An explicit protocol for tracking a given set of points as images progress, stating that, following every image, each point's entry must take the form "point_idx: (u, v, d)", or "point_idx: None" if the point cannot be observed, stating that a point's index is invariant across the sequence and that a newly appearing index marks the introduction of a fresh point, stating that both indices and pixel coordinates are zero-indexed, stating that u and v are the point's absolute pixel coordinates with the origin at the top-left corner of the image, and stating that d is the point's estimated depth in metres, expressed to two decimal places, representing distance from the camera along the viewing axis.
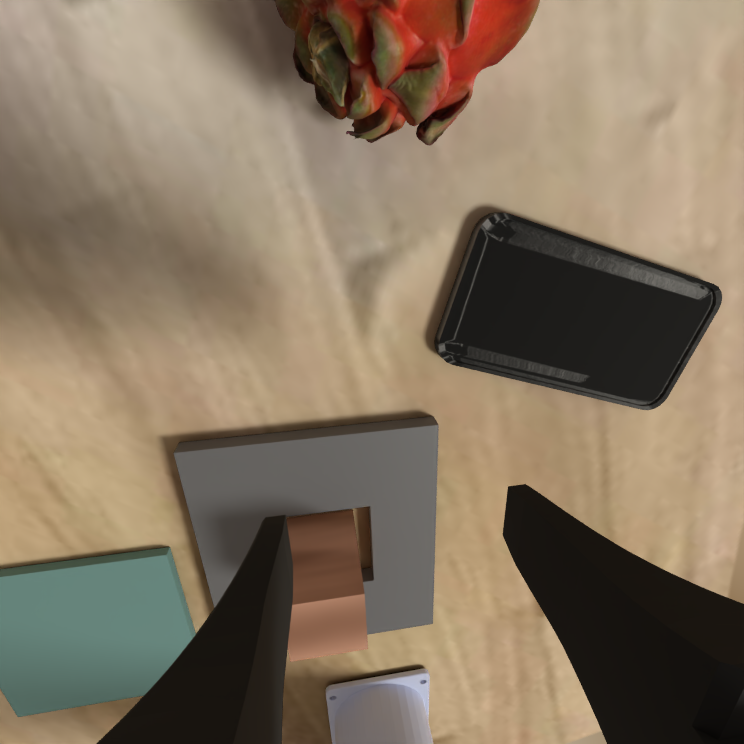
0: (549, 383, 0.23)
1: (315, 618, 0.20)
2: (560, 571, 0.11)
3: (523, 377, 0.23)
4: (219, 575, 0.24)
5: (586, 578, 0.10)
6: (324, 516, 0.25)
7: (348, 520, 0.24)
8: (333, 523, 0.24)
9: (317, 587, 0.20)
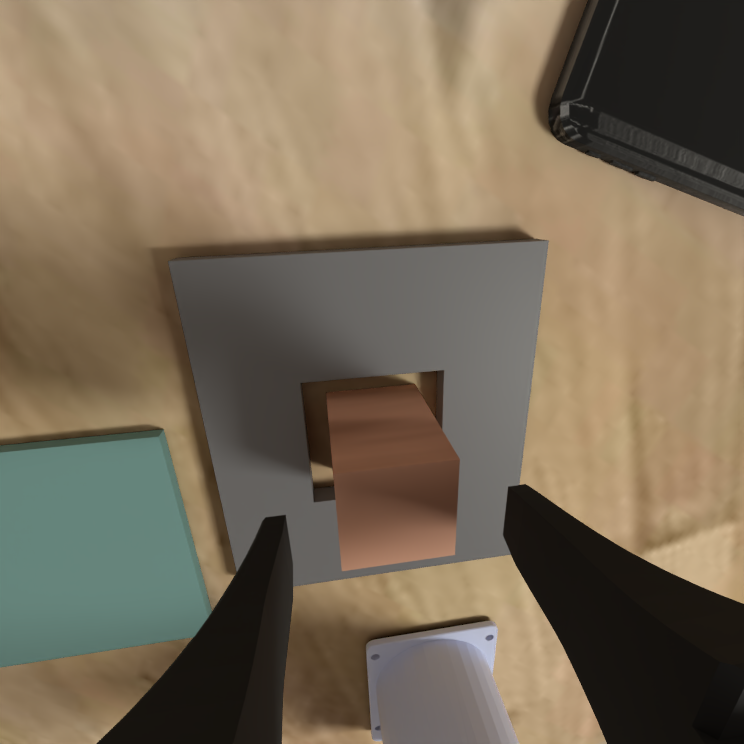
0: (703, 187, 0.16)
1: (384, 498, 0.13)
2: (560, 571, 0.11)
3: (670, 173, 0.16)
4: (232, 470, 0.18)
5: (586, 578, 0.10)
6: (377, 390, 0.18)
7: (412, 392, 0.18)
8: (392, 396, 0.17)
9: (385, 454, 0.13)
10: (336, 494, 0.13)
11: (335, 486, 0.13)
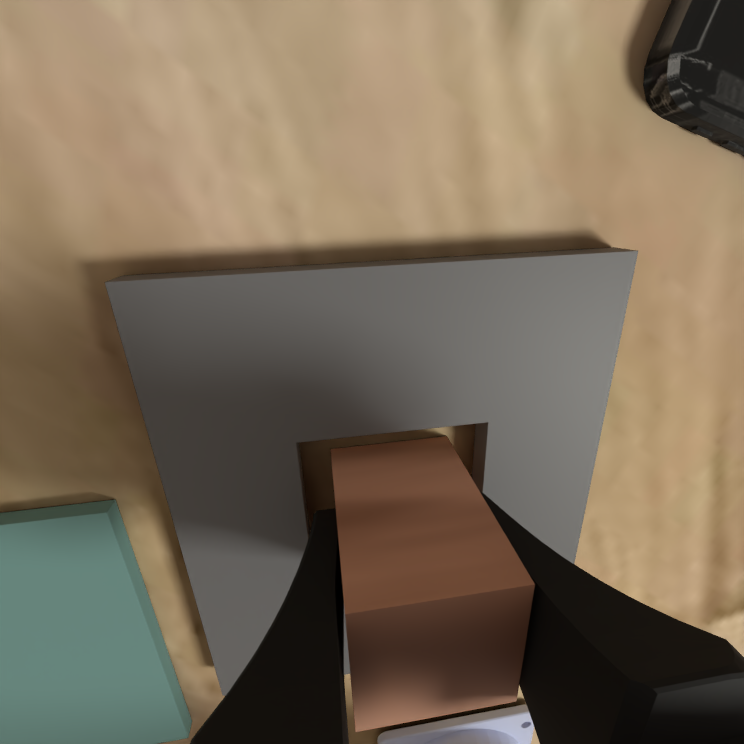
0: None
1: (420, 640, 0.09)
2: None
3: None
4: (206, 553, 0.13)
5: None
6: (398, 446, 0.14)
7: (445, 451, 0.13)
8: (419, 456, 0.13)
9: (420, 570, 0.09)
10: (349, 640, 0.08)
11: (348, 630, 0.08)
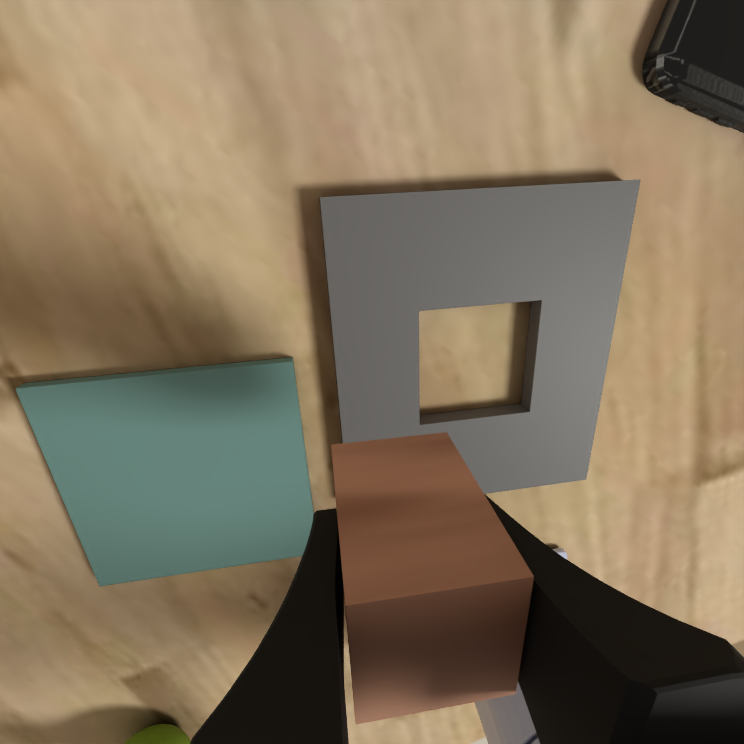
0: None
1: (419, 633, 0.09)
2: None
3: None
4: (353, 392, 0.20)
5: None
6: (399, 442, 0.14)
7: (445, 447, 0.13)
8: (419, 452, 0.13)
9: (420, 563, 0.09)
10: (349, 631, 0.08)
11: (348, 621, 0.08)
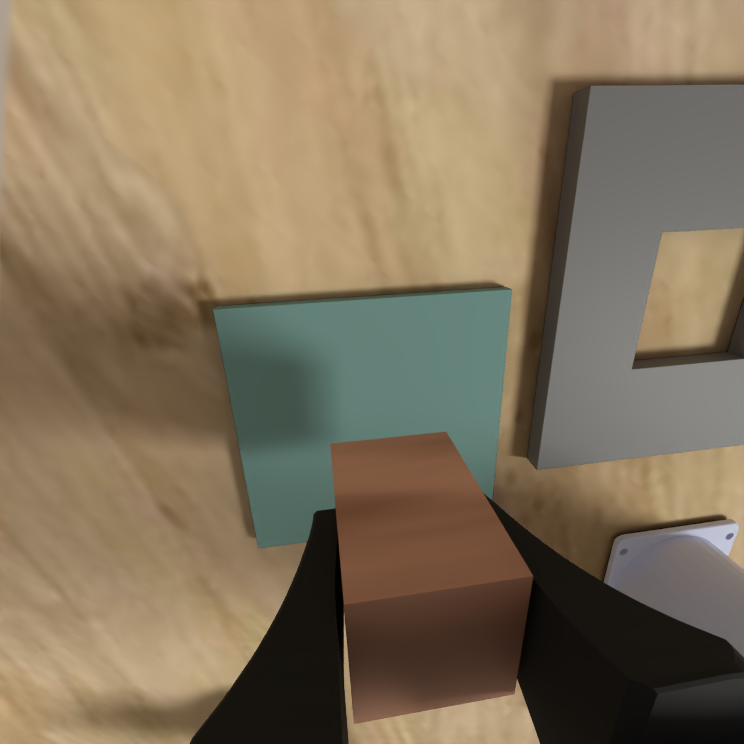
0: None
1: (418, 631, 0.09)
2: None
3: None
4: (573, 328, 0.18)
5: None
6: (398, 441, 0.14)
7: (444, 446, 0.13)
8: (419, 451, 0.13)
9: (419, 563, 0.09)
10: (348, 630, 0.08)
11: (347, 621, 0.08)
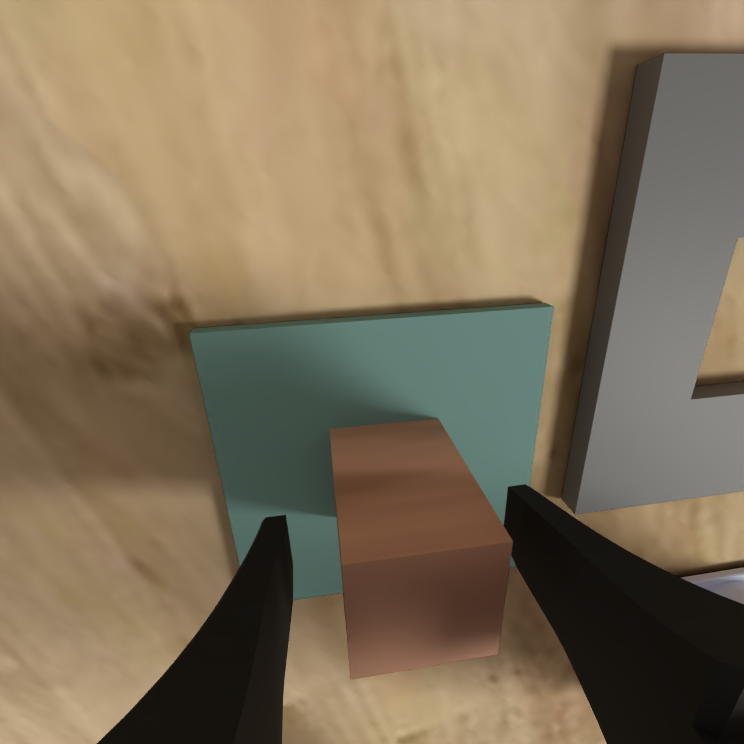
0: None
1: (409, 592, 0.10)
2: (560, 571, 0.11)
3: None
4: (625, 352, 0.15)
5: (586, 578, 0.10)
6: (393, 427, 0.15)
7: (436, 431, 0.14)
8: (412, 436, 0.14)
9: (410, 530, 0.10)
10: (345, 589, 0.09)
11: (344, 580, 0.09)
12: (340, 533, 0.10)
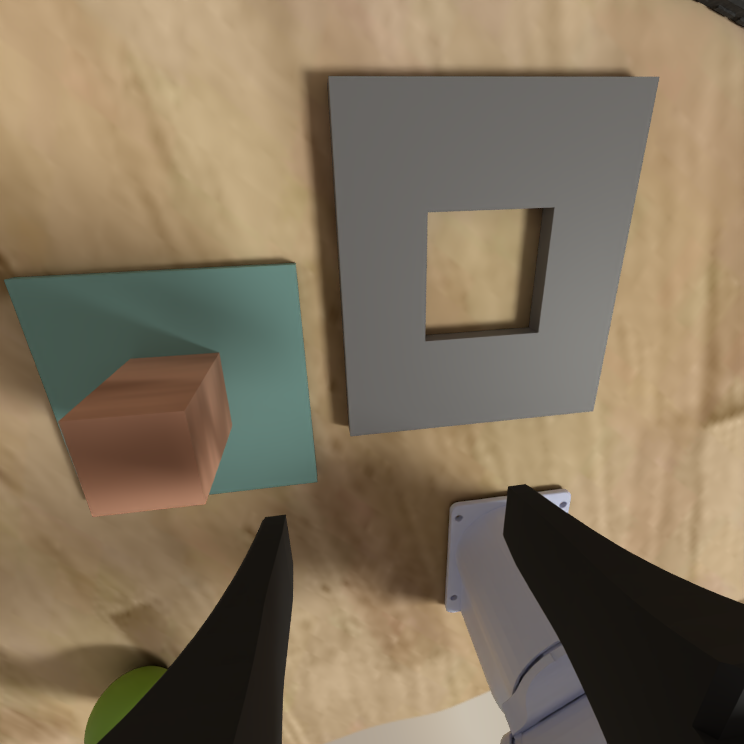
0: None
1: (116, 446, 0.14)
2: (560, 571, 0.11)
3: None
4: (358, 301, 0.19)
5: (586, 578, 0.10)
6: (179, 357, 0.19)
7: (207, 359, 0.19)
8: (186, 362, 0.18)
9: (122, 406, 0.14)
10: (66, 441, 0.14)
11: (62, 433, 0.14)
12: (74, 408, 0.14)
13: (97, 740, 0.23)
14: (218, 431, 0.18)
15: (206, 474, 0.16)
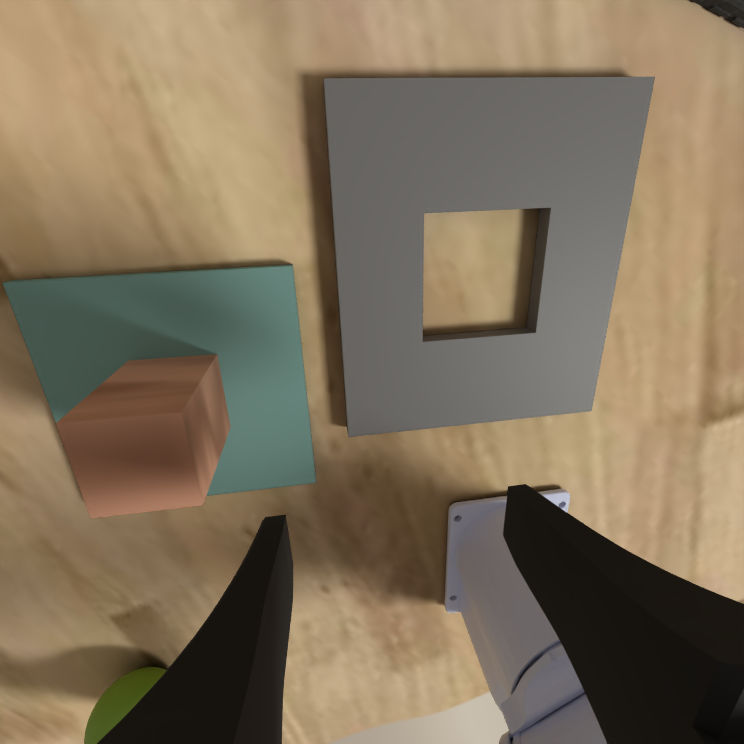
0: None
1: (113, 448, 0.14)
2: (560, 571, 0.11)
3: None
4: (355, 302, 0.19)
5: (586, 578, 0.10)
6: (177, 359, 0.19)
7: (205, 361, 0.19)
8: (184, 363, 0.18)
9: (120, 408, 0.14)
10: (64, 443, 0.14)
11: (60, 435, 0.14)
12: (71, 410, 0.14)
13: (97, 741, 0.23)
14: (216, 432, 0.18)
15: (204, 475, 0.16)
